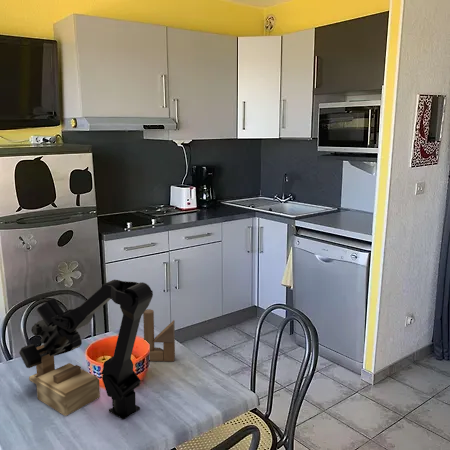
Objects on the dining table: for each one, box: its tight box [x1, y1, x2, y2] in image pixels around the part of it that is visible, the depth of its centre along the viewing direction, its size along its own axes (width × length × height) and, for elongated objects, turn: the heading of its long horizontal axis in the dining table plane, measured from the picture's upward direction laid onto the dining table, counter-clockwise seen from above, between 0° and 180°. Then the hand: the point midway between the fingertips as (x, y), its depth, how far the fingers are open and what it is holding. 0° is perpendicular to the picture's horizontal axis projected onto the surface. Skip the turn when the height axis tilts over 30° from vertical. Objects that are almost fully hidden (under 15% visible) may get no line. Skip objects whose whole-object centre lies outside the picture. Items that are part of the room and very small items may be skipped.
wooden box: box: [28, 372, 101, 417], centre depth 143 cm, size 26×12×6 cm, turn 53°
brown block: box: [35, 344, 56, 377], centre depth 149 cm, size 4×4×11 cm
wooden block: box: [142, 308, 176, 362], centre depth 162 cm, size 4×11×18 cm, turn 89°
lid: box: [37, 362, 99, 396], centre depth 138 cm, size 14×11×3 cm
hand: (42, 358), depth 150 cm, fingers open, 7 cm apart
